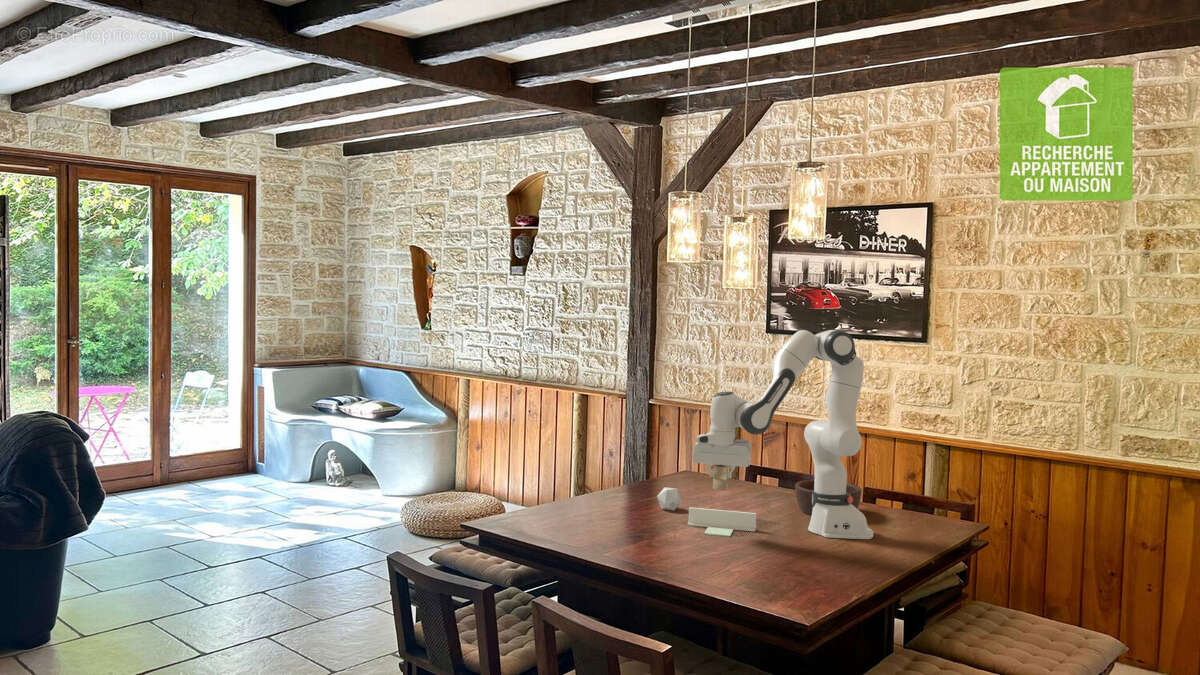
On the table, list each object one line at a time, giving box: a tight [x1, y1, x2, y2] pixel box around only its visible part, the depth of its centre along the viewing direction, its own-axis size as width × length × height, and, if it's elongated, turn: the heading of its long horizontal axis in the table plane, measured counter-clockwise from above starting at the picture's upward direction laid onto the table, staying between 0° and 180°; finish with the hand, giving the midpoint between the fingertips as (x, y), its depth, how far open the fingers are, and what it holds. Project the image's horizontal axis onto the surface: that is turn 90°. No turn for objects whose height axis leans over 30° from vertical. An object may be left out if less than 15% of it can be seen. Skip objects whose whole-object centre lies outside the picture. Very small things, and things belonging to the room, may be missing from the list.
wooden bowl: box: [794, 479, 862, 516], centre depth 351 cm, size 25×25×10 cm
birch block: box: [712, 464, 729, 491], centre depth 317 cm, size 4×4×8 cm
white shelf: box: [687, 506, 757, 532], centre depth 324 cm, size 24×4×6 cm, turn 75°
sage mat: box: [703, 527, 734, 538], centre depth 317 cm, size 9×9×1 cm
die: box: [656, 486, 682, 511], centre depth 349 cm, size 8×9×10 cm
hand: (720, 477), depth 317 cm, fingers closed on birch block, 4 cm apart
